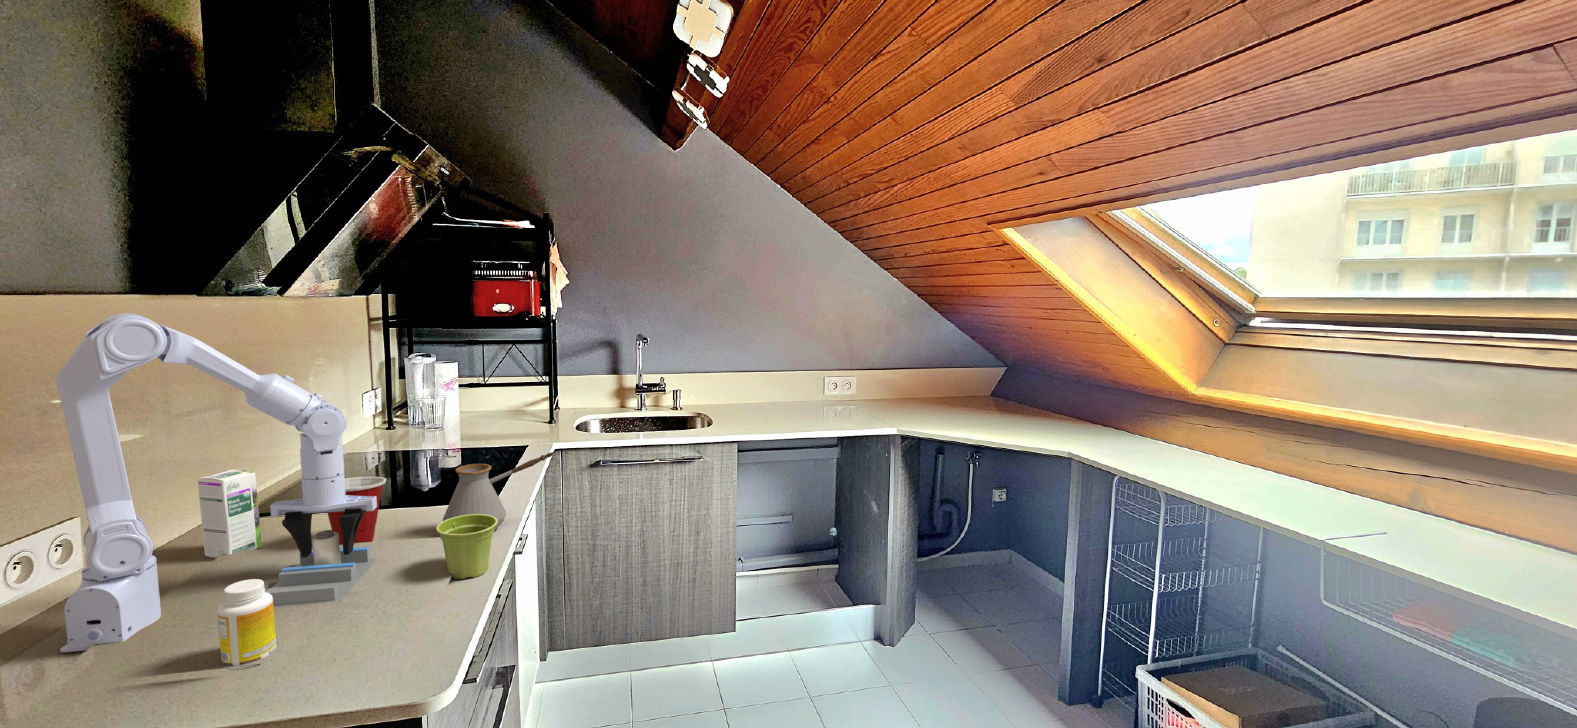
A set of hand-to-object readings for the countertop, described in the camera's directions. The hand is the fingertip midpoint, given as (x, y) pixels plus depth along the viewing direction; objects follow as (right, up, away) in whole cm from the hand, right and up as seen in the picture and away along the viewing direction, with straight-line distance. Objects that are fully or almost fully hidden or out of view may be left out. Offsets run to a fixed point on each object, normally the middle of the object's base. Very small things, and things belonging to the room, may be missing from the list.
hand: (327, 553), depth 108 cm
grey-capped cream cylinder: (0, -3, 0) cm, 3 cm away
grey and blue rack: (+1, -4, -3) cm, 6 cm away
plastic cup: (-5, -2, +15) cm, 16 cm away
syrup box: (-23, -2, +9) cm, 25 cm away
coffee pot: (+18, -2, +24) cm, 30 cm away
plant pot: (+22, -4, +4) cm, 22 cm away
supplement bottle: (+6, -7, -23) cm, 25 cm away
